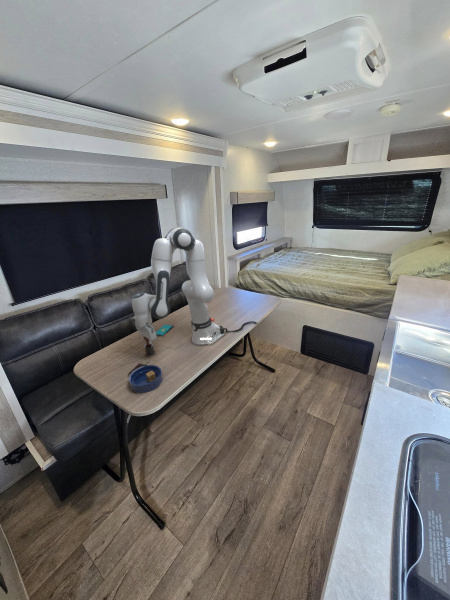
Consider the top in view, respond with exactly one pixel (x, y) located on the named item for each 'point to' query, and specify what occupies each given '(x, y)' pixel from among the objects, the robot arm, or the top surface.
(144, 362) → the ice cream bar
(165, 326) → the smartphone
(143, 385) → the bowl
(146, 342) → the chopstick
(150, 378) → the block
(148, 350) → the holder
